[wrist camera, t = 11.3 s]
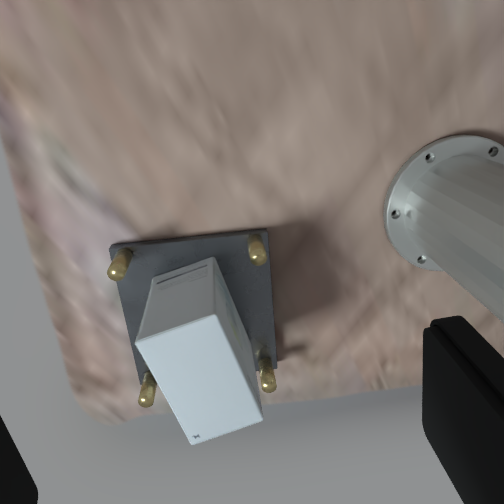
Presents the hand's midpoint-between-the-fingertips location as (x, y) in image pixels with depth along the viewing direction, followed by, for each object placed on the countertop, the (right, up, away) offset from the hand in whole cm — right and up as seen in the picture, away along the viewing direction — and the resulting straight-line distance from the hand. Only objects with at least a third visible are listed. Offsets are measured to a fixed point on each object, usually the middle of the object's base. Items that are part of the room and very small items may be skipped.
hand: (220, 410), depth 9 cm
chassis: (-4, -2, +32) cm, 33 cm away
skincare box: (-4, -2, +32) cm, 32 cm away
